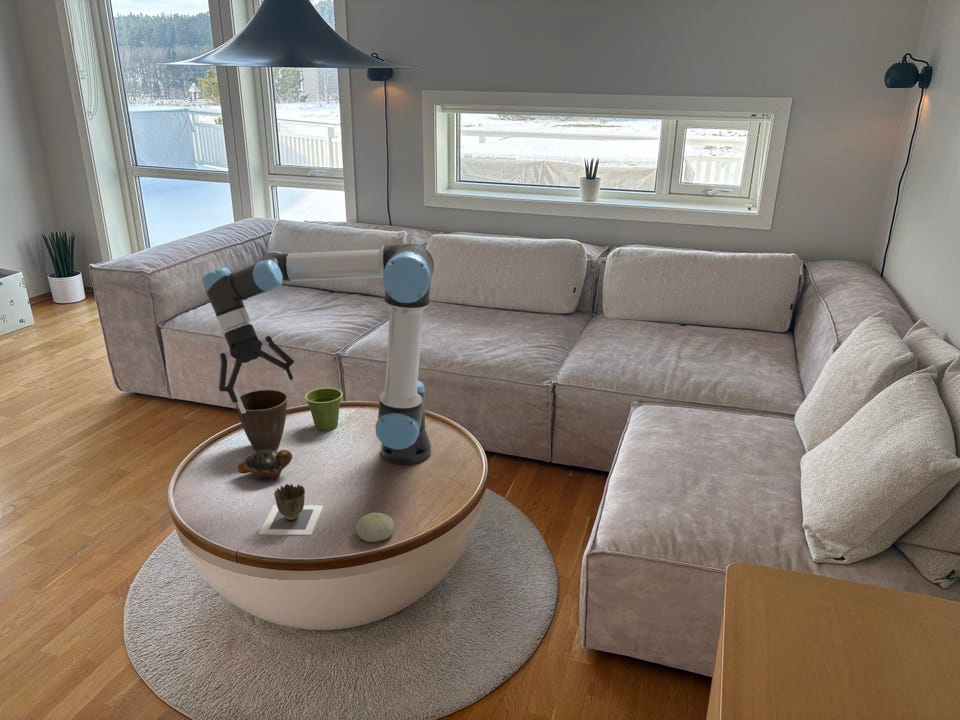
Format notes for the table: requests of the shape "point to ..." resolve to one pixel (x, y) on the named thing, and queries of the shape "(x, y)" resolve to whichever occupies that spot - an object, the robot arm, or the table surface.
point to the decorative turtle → (265, 463)
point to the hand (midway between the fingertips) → (268, 402)
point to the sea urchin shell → (374, 527)
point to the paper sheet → (291, 522)
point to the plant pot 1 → (263, 418)
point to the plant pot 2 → (324, 407)
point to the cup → (290, 501)
